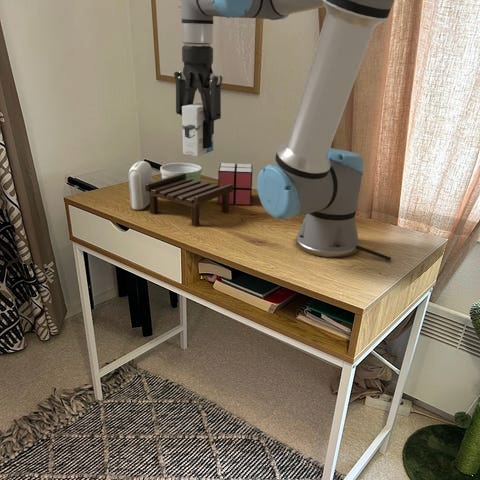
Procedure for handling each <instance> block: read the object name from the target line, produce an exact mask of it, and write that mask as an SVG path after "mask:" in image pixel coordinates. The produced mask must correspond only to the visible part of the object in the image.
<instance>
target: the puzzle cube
mask: <svg viewBox="0 0 480 480" xmlns="http://www.w3.org/2000/svg"><path fill="white" fill-rule="evenodd" d="M217 175H218V179H217V185H219V186H218V188H219V187H221V186H225V185H228V184H233V191H232V192H230V194H229V195H230V199H229V206H230V205H233V206H234V205H236V206H251V205H252V194H253V193H252V189H253V164H252V163H232V162H231V163H230V162H220V163H219V167H218V171H217ZM217 204H218V205H222V196H219V197H217Z"/></svg>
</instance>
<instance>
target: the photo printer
mask: <svg viewBox="0 0 480 480" xmlns="http://www.w3.org/2000/svg"><path fill="white" fill-rule="evenodd" d="M150 182H153V171H152V166H151V164H150V163H149V162H148V161H142V160H139V161H137V162H136V163H134V164H133V165H132V166H131V167H130V169H129V171H128V187H129V198H130V207H131V208H132V209H133V210H136V211H137V210H138V211H140V210H145V208H147V207H148V206H150V198H149V192H148V191H146V187H145V184H147V183H150Z"/></svg>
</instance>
